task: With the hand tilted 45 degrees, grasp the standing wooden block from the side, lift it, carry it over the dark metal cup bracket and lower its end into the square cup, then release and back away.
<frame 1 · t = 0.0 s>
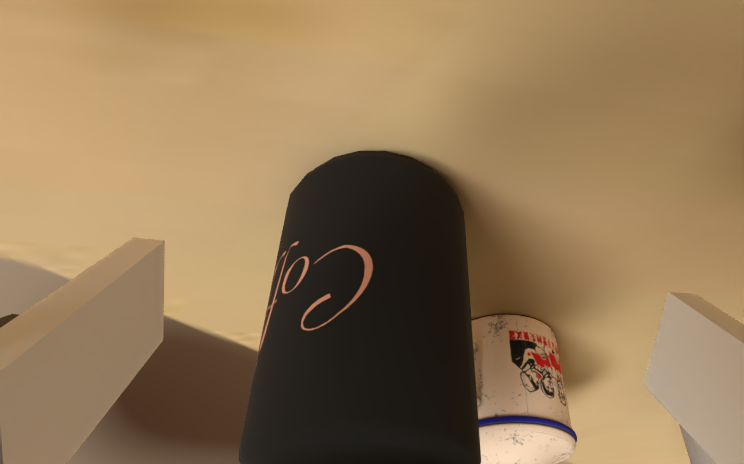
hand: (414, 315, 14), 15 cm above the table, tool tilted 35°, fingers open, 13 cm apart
teacup with lid: (490, 330, 46), on the table
coffee jar: (375, 204, 34), on the table
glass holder: (706, 384, 51), on the table
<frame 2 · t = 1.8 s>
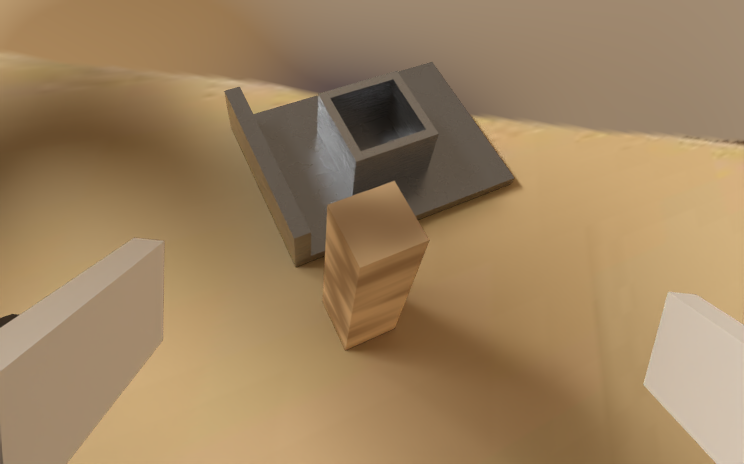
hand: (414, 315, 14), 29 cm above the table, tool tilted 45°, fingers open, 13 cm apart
wooden block: (358, 315, 45), on the table
cup bracket: (371, 156, 53), on the table
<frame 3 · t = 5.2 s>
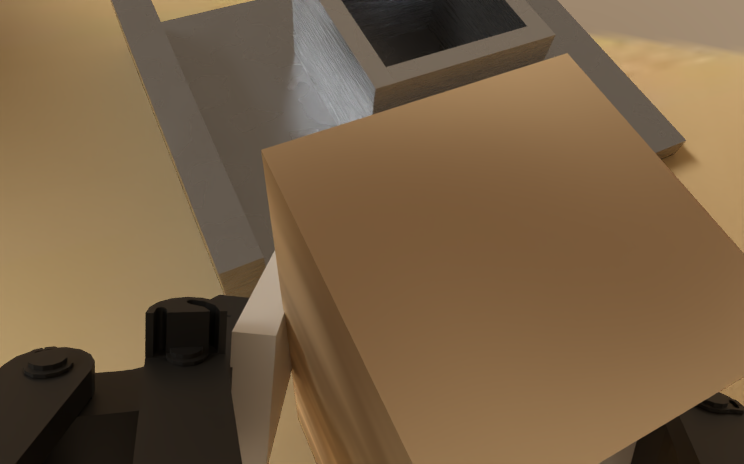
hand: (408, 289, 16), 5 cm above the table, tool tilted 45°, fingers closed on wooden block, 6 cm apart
wooden block: (382, 450, 19), on the table, touching gripper
cup bracket: (399, 100, 27), on the table
when the fingers open (8 cm above the table, at t = 10.9 s): wooden block drops 2 cm, resting on cup bracket.
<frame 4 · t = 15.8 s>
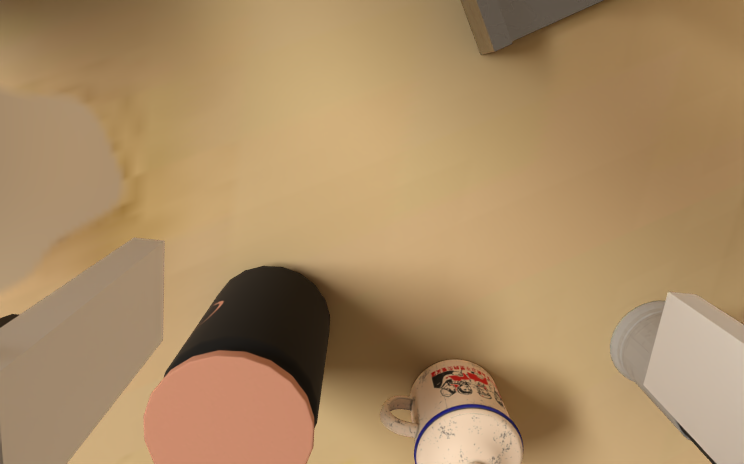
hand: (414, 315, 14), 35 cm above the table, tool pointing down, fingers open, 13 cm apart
teacup with lid: (438, 393, 54), on the table
coffee jar: (274, 314, 52), on the table
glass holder: (671, 360, 54), on the table
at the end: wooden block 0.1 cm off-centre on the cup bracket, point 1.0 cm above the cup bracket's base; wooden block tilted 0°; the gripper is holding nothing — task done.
